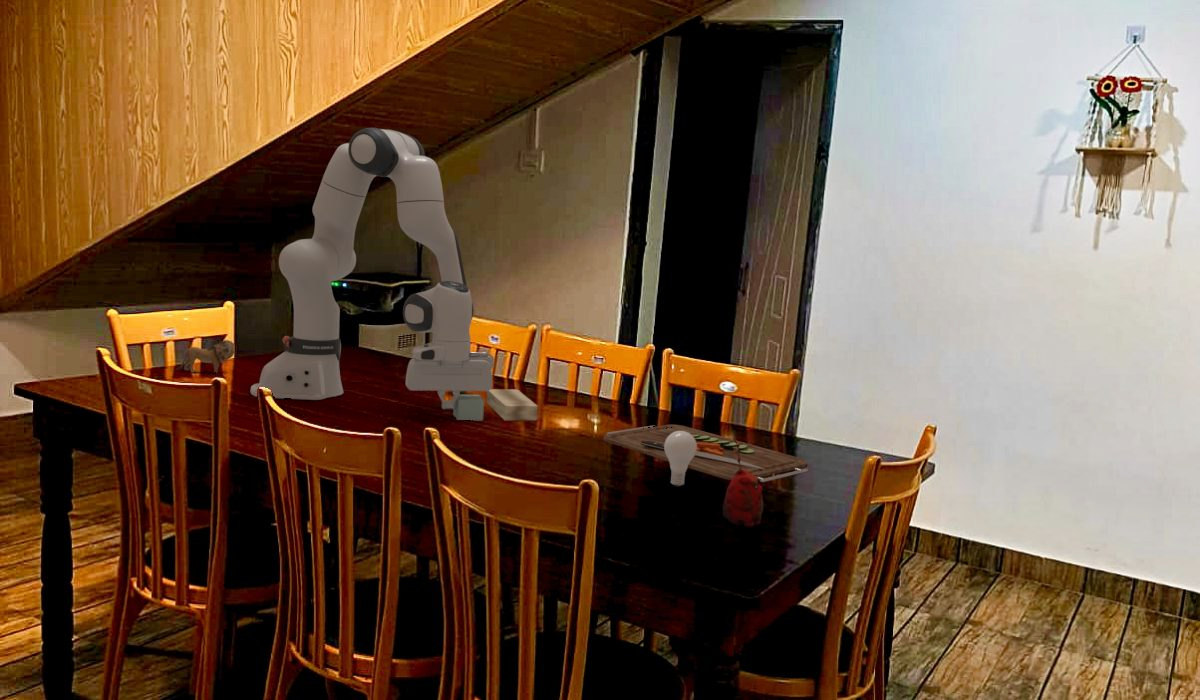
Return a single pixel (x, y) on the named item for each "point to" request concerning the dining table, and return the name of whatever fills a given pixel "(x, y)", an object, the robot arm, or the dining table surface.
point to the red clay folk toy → (743, 498)
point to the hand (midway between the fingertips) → (448, 408)
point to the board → (511, 404)
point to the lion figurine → (209, 355)
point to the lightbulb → (679, 454)
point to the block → (469, 408)
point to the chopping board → (710, 452)
